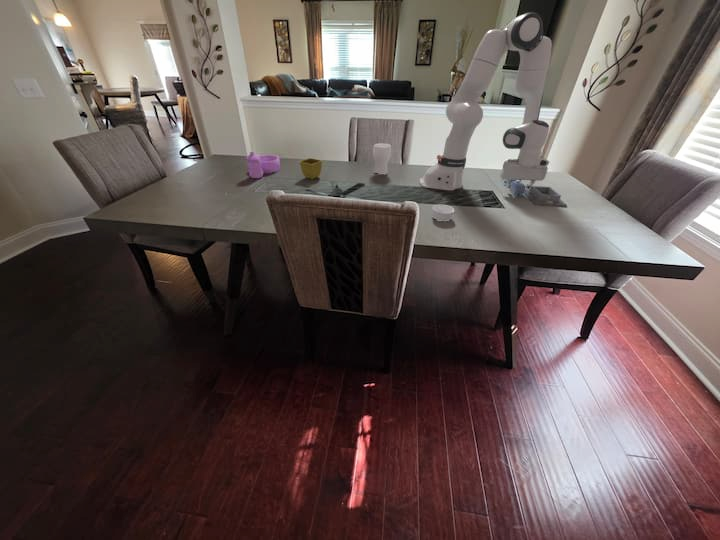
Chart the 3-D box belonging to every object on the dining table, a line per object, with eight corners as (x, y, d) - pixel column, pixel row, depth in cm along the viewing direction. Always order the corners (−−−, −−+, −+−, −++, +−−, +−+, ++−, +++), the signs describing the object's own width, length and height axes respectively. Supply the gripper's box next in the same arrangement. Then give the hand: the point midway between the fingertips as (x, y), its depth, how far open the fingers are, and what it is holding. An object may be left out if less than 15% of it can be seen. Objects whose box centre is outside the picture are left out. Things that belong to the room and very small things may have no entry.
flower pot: (323, 177, 157) (322, 160, 151) (313, 181, 151) (311, 164, 145) (311, 174, 160) (309, 157, 155) (300, 178, 154) (299, 161, 149)
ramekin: (429, 213, 122) (430, 203, 119) (449, 213, 121) (451, 204, 119) (432, 222, 114) (434, 213, 112) (454, 223, 114) (456, 213, 112)
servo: (514, 197, 137) (518, 185, 134) (508, 189, 145) (512, 178, 142) (523, 197, 137) (527, 185, 134) (516, 189, 145) (520, 178, 142)
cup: (372, 169, 169) (373, 142, 160) (390, 170, 168) (392, 143, 159) (370, 175, 160) (371, 147, 151) (389, 176, 159) (391, 148, 150)
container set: (261, 165, 173) (256, 142, 165) (284, 166, 171) (281, 143, 163) (240, 178, 153) (234, 153, 145) (267, 180, 151) (262, 155, 143)
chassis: (534, 205, 130) (537, 197, 127) (520, 190, 144) (523, 183, 142) (566, 206, 129) (570, 198, 126) (549, 192, 143) (552, 184, 141)
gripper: (507, 161, 130) (498, 189, 138) (553, 162, 129) (541, 191, 137) (502, 157, 135) (494, 185, 143) (547, 158, 134) (536, 186, 142)
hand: (517, 188), depth 140 cm, fingers open, 8 cm apart
